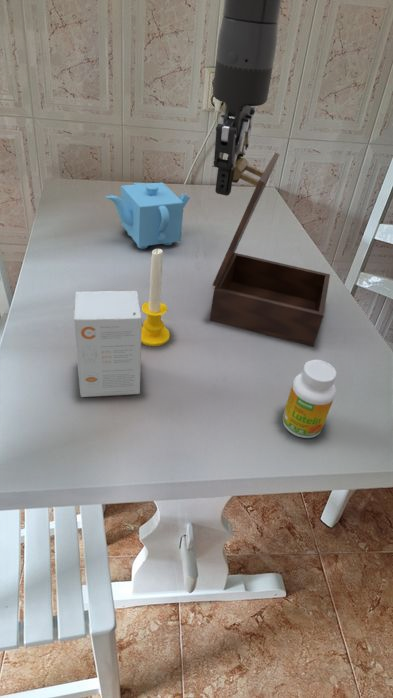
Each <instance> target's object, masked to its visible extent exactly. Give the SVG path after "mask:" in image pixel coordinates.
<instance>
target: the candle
mask: <svg viewBox="0 0 393 698" xmlns="http://www.w3.org/2000/svg"><path fill="white" fill-rule="evenodd" d="M162 276H163V249H161V248H159V247H157V246H156V248H154V249H153V250H152V251H151V259H150V275H149V292H148V293H149V294H148V295H149V296H148V301H146V302H144V303H143V304H142V305H141V311H142V312H143V313H144V314H146V319H145V320H144V321H143V323H142V324H143V325H142V327H141V344H143V345H144V346H145V345H146V346H149V347H160V346H163V345H165V344H167V343H168V342H169V340H170V337H171V334H170V330H169V329H168V328H166V327H165V322H164V321H163V320H162V315H164V314H165V315H166V313H167V312H168V306H167V305H166V304H165V303H163V302H161V299H162V298H161V296H162V278H163V277H162Z"/></svg>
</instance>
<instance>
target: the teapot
mask: <svg viewBox="0 0 393 698" xmlns="http://www.w3.org/2000/svg"><path fill="white" fill-rule="evenodd" d="M104 198H106V199H108V200H110V201H112V202H113V204H114V205H115V208H116V211H117V215H118V217H119V219H120V224H121V226H122V227H123V229H125V231H126V232H127V235H128V236H130V237H131V239H132V240H133V241H134V243H135V244H136V247H137V248H139V249H147V248H148V247H149V246H155V245H161V244H162V245H164V246H172V245H173V243H177V242H181V239H182V229H183V217H184V208H185V207H186V205H187V204H188V202H189V200H190V198H191V197H190V196H189V195H188V194H185V193H181V195H180V196H179V197H178V196H177V195H176V194H175V193H174V192H173V190H171V189H170V188H169V187H168V186H167V185H166V184H165V183H164V182H162V181H161V182H150V183H149V182H147V183H144V182H143V183H142V182H133V183H132V184H125V185H121V186H120V197H119V196H117V195H115V194H114V195H113V194H111V195H104Z"/></svg>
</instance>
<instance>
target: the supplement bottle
mask: <svg viewBox="0 0 393 698" xmlns="http://www.w3.org/2000/svg"><path fill="white" fill-rule="evenodd" d="M336 377H337V370H336V369H335V368H334V366H333V365H332V364H330V363H329V362H327V361H324V360H321V359H311V360H308V361H306V362H305V363H304V366H303V369H302V371H301V372H300V373H299V374H297V375H296V376H295V378H294V379H293V382H292V384H291V387H290V392H289V394H288V398H287V400H286V405H285V408H284V411H283V414H282V424H283V426H284V428H285V429H286V430H287V431H288V432H289V433H290V434H292V435H294V436H296V437H298V438H303V439H311V438H314V437H316V436H318V435H319V434H320V433H321V432H322V430H323V428H324V425H325V423H326V420H327V417H328V415H329V412H330V409H331V407H332V404H333V402H334V400H335V397H336V394H337V387H336V385H335V381H336Z"/></svg>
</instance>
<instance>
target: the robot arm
mask: <svg viewBox="0 0 393 698" xmlns="http://www.w3.org/2000/svg"><path fill="white" fill-rule="evenodd" d="M282 2H283V0H224V1H223V10H222V17H221V18H222V19H221V25H220V28H219V33H218V40H217V49H216V57H215V67H214V76H213V88H212V96H213V97H214V98H215V100H217V101H219V102H223V103H224V104H225V109H224V114H221V116H220V118H219V123H217V125H216V127H215V143H214V158H213V167H214V168H217V174H216V182H215V188H214V189H215V190H214V191H215V193H216V194H217V195H222V196H226V197H227V196H230V194H231V193H232V186H233V183H234V184H237V183H238V182H239V181H240V180H241V179H240V178H239V179H238V180H233V173H234V168H235V166H236V165H235V163H236V162H237V160H238V159H240V158H245V155H246V151H247V150H248V148H249V146H250V145H249V141H250V136H251V131H252V126H253V122H254V116H255V113H256V110H255V107H259V106H262V105H264V104H266V103H267V101H268V98H269V91H270V85H271V80H272V73H273V68H274V62H275V57H276V56H275V55H276V51H277V44H278V27H279V20H280V13H281V9H282V8H281V7H282ZM224 154H226V155H227V159H224Z"/></svg>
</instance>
